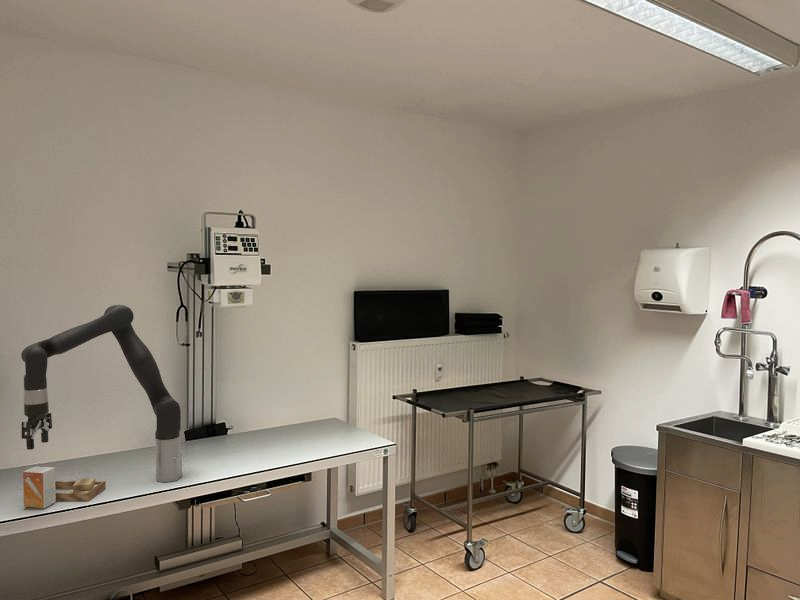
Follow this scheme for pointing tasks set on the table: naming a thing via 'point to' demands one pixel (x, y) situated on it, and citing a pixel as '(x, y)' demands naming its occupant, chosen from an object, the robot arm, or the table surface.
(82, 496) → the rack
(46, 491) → the small box
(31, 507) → the mat
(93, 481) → the offcut top
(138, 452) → the table surface
